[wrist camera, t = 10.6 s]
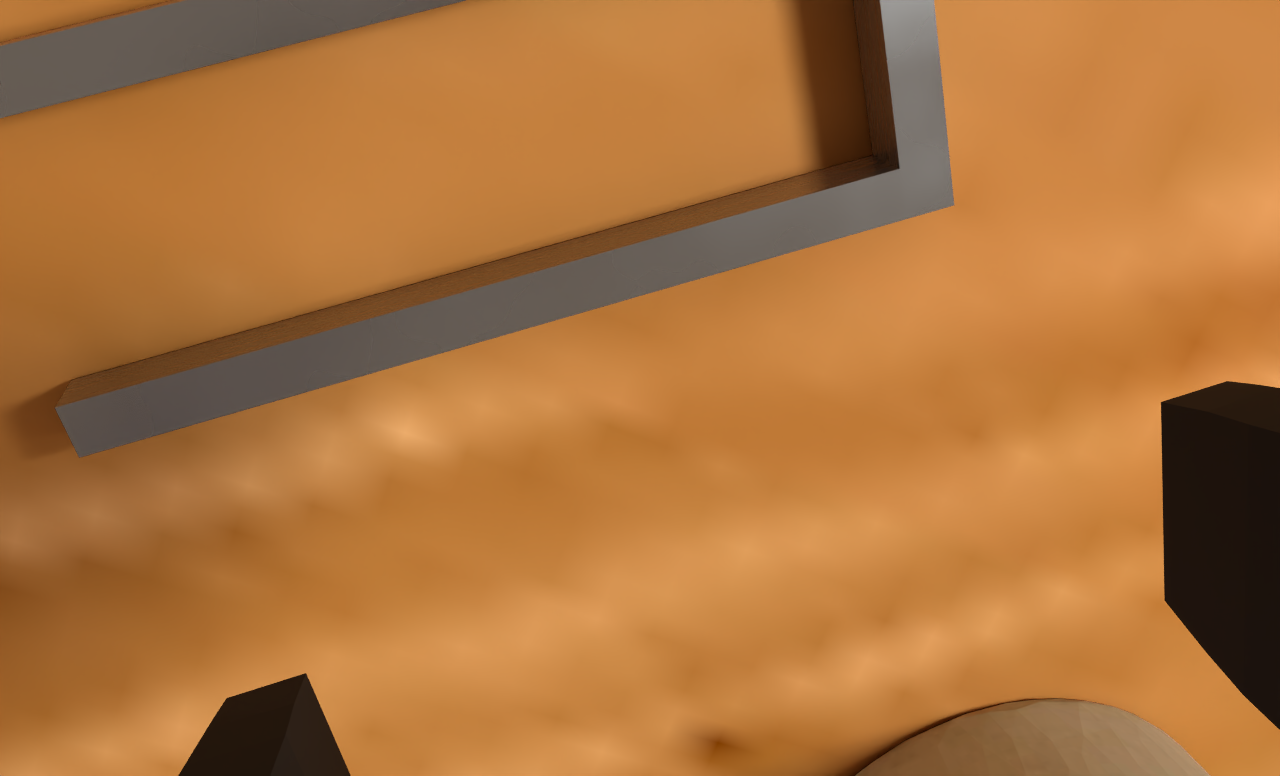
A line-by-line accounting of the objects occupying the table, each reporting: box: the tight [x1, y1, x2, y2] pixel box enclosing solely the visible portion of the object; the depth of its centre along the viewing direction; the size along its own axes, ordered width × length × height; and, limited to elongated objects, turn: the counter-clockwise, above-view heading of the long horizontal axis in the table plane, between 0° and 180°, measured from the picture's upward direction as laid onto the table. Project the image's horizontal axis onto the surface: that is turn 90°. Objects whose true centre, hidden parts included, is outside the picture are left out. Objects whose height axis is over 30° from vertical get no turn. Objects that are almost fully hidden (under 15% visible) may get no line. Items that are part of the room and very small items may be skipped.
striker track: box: [0, 0, 954, 458], centre depth 16 cm, size 13×5×1 cm, turn 103°
